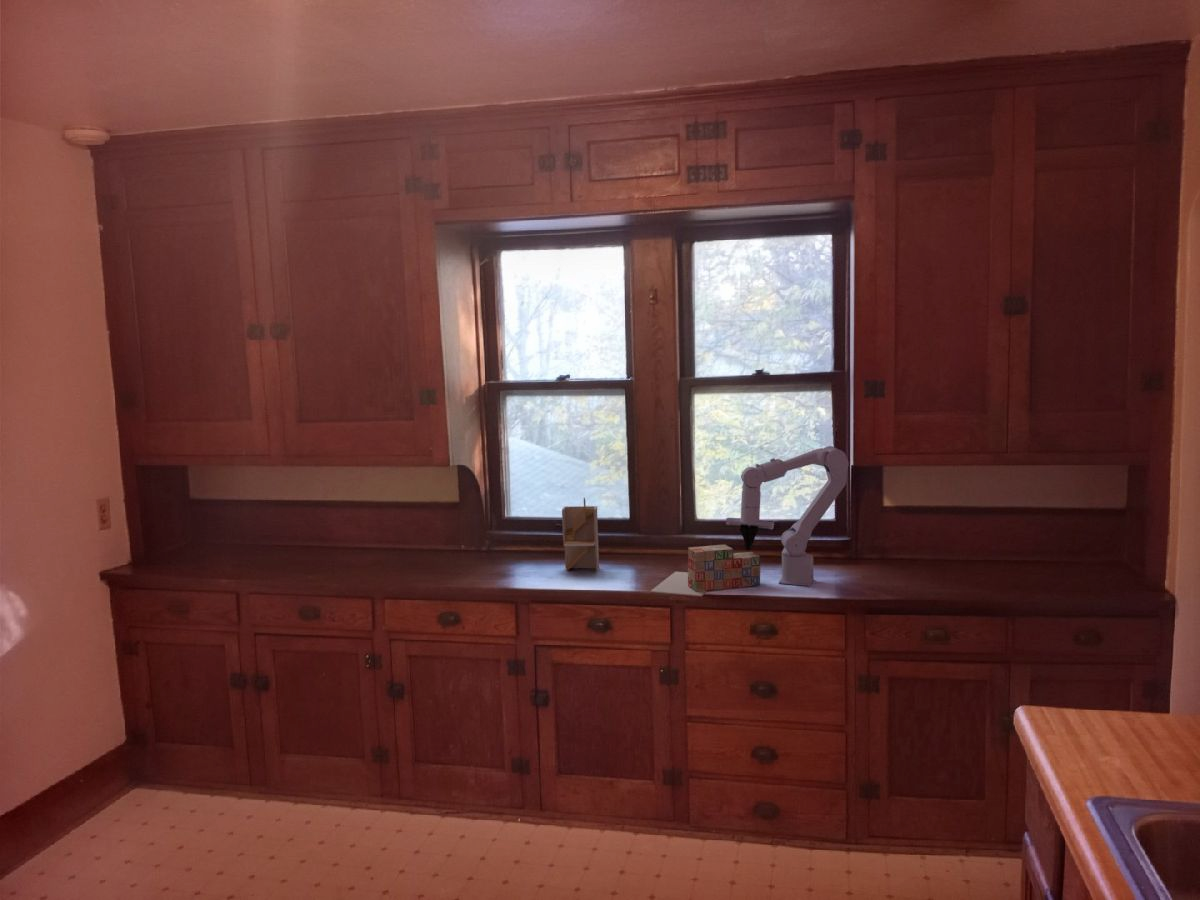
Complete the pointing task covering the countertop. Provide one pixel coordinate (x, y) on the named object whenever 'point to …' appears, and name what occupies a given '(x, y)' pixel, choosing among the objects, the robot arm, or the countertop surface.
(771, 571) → the countertop surface
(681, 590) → the mat
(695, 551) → the stack of blocks
